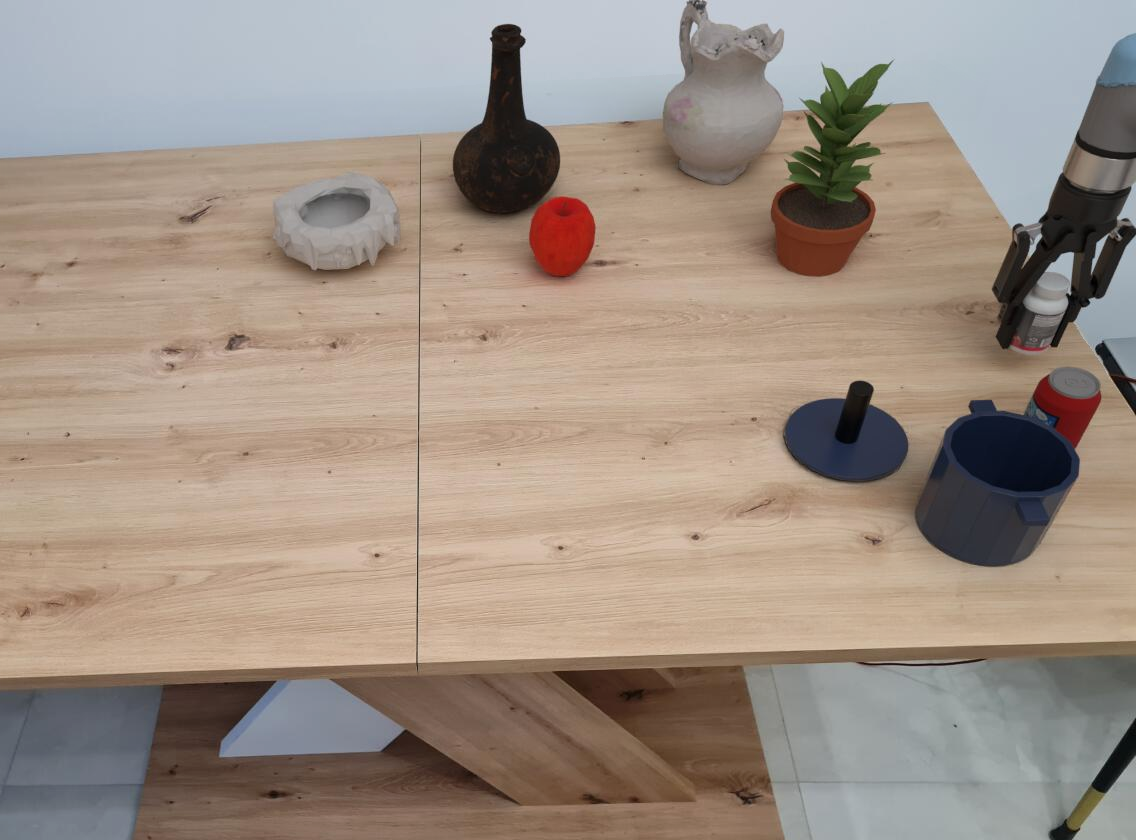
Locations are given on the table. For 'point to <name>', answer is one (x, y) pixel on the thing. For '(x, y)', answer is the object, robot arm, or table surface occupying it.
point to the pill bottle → (1041, 314)
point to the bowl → (336, 221)
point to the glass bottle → (506, 139)
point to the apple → (562, 235)
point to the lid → (847, 436)
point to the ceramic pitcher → (722, 97)
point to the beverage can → (1066, 401)
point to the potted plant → (829, 181)
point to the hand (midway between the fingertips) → (1026, 341)
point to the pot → (995, 486)
